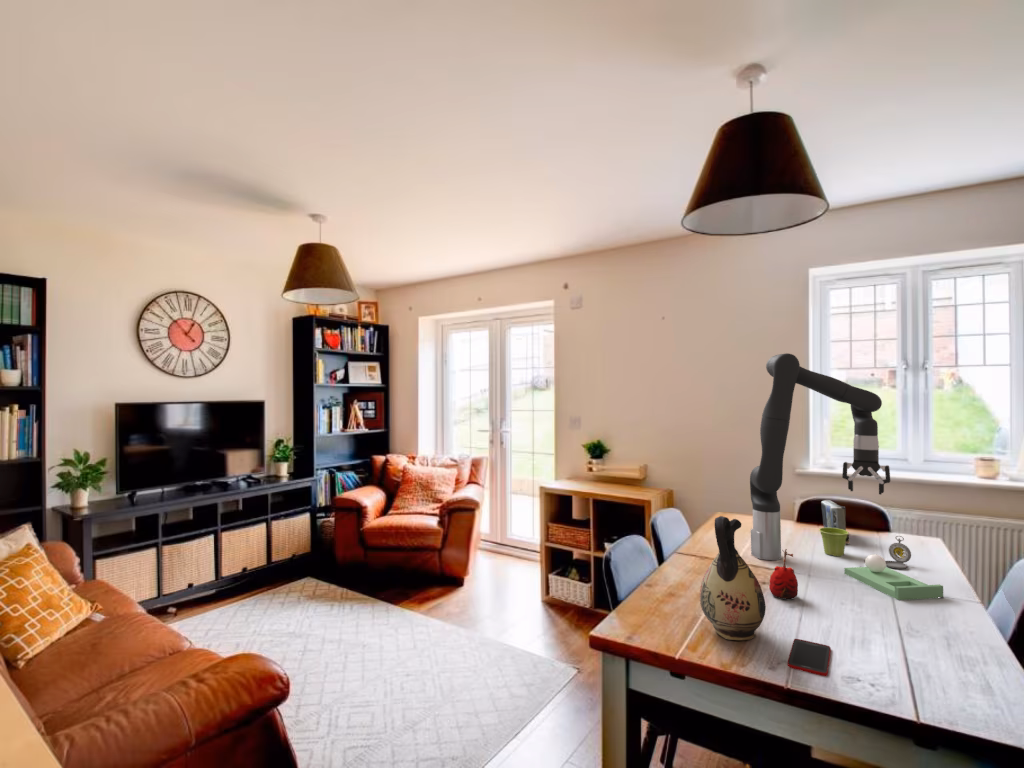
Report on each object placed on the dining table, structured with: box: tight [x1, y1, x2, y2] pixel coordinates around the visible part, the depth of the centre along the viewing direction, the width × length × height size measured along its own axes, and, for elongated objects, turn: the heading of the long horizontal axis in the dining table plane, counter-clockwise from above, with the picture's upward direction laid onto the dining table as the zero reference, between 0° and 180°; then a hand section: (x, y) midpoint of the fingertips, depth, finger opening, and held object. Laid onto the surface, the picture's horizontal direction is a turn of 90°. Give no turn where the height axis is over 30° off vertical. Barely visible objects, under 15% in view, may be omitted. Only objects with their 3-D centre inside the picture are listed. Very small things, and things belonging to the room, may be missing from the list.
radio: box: [820, 499, 851, 545], centre depth 216 cm, size 23×9×15 cm, turn 152°
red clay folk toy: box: [768, 548, 799, 601], centre depth 155 cm, size 8×7×15 cm
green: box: [843, 566, 944, 601], centre depth 162 cm, size 14×22×4 cm, turn 4°
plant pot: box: [818, 527, 850, 557], centre depth 193 cm, size 9×9×9 cm
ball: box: [864, 553, 887, 573], centre depth 168 cm, size 6×6×6 cm
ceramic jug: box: [699, 515, 767, 649], centre depth 132 cm, size 17×15×30 cm
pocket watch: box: [885, 535, 912, 570], centre depth 179 cm, size 8×8×10 cm
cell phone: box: [787, 638, 832, 677], centre depth 119 cm, size 8×15×1 cm, turn 146°
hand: (865, 492), depth 187 cm, fingers open, 8 cm apart
